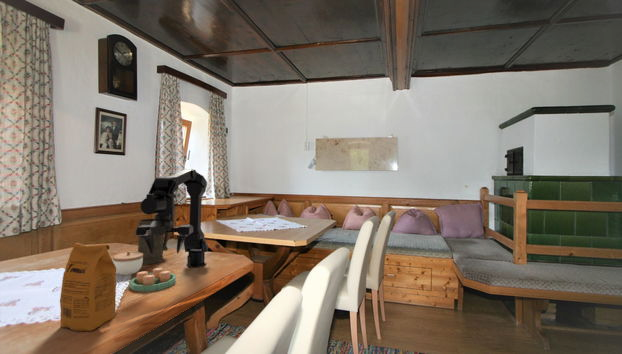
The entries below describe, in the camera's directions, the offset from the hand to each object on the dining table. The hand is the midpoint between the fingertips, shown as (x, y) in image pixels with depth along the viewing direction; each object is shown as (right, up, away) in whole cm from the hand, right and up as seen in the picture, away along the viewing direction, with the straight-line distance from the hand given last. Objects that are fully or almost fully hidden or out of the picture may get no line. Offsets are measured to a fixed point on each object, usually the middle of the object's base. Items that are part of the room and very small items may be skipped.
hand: (165, 253), depth 113 cm
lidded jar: (-21, -12, +12) cm, 27 cm away
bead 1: (-8, -11, -1) cm, 14 cm away
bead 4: (0, -11, 0) cm, 11 cm away
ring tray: (-4, -12, 0) cm, 13 cm away
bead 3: (-4, -11, +4) cm, 13 cm away
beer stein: (-21, -12, +33) cm, 41 cm away
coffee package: (-8, -12, -28) cm, 32 cm away
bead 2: (-4, -11, -4) cm, 13 cm away
